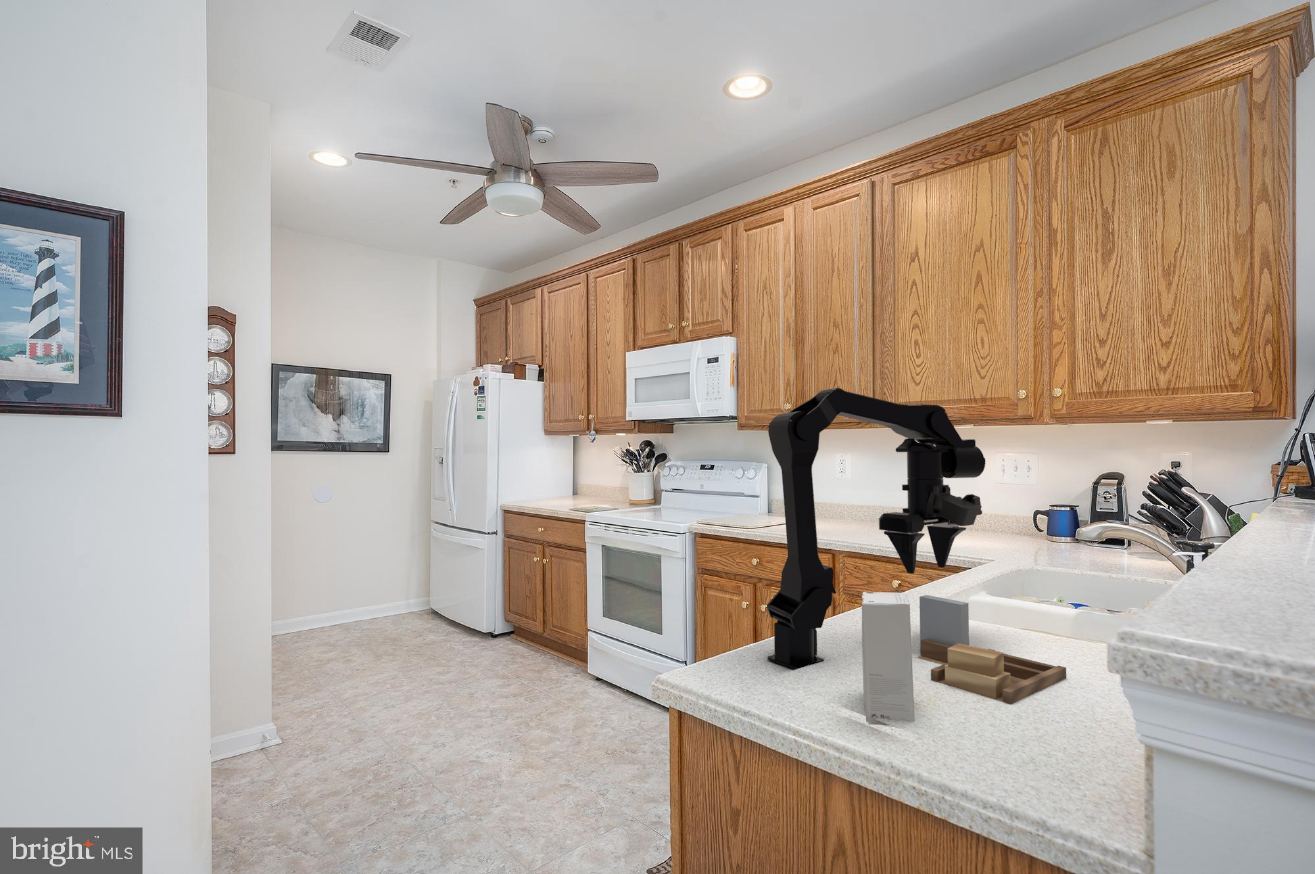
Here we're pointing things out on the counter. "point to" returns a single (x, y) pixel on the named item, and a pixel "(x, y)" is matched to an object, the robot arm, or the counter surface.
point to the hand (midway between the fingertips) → (926, 570)
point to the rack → (1018, 677)
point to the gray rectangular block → (944, 620)
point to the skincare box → (887, 657)
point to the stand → (934, 652)
